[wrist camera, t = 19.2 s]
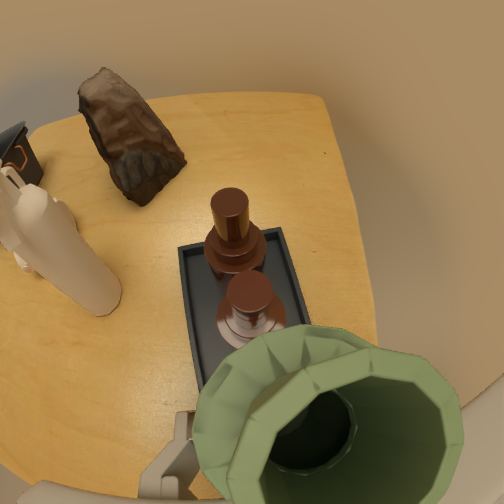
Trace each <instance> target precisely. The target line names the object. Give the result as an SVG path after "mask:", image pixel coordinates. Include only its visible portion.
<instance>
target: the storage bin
mask: <svg viewBox="0 0 504 504" xmlns="http://www.w3.org/2000/svg"><path fill="white" fill-rule="evenodd" d="M24 126H25V121H22V122H20V123H18V124H17V125H15V126H13V127H11V128H9V129H7V130H6V131H4V132H2V133H1V134H0V159H1V160H2V165H1V168H4V167H7V166H10V167H13V168H14V170H15V171H16V172H17V173H18V175H19V176H20V177H21V179H22V180H23V181H24V182H25V184H26V185H28V184H30V183H31V184H33V185H35V186H37V185H38V183H39V181H40V179H41V176H42V174H43V170H42V169H41V167H40V165H39V163H38V161H37V159H36V157H35V155H34V153H33V151H32V149H31V146H30V144H29V142H28V140H27V138H26V136H25V135H26V134H27V132H28V129H27V127H24ZM0 170H1V169H0ZM6 177H7V178H8V179H9V180H10V181H11V182H12V183H13V184H14V185H15V186H16V187H17V188H18V189H20V188H19V186H18V185H17V184H16V183H15V181H14V180H13V179H12V178H11V176H10V175H8V176H6Z"/></svg>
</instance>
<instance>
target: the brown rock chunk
mask: <svg viewBox="0 0 504 504" xmlns="http://www.w3.org/2000/svg"><path fill="white" fill-rule="evenodd" d="M78 95H79V110H78V111H79V112H80V113H82V114H83V115H84V117H85V118H86V122H87V124H88V126H89V128H90V129H89V132H90V135H91V137H92V140H93V141H94V143H95V145H96V147H97V150H98V152H99V154H100V155H101V157H102V158H103V160H104V161H105V162H106V163H107V164H108V166H109V168H110V175H111V178H112V180H113V182H114V183H115V185H116V186H117V188H118V189H120V190H121V191H122V192H123V195H124V196H126V197H127V199H128V200H132V201H134V202H136V203H137V204H138V205H139V206H140V207H142V206H145V205H146V204H148V203H149V202H150V201H151V200H152V199H153V197H154V196H155V194H156V193H157V192H159V191H161V190H162V189H163V187H164V185H166V184H167V183H168V182H169V180H170V179H172V178H174V177H175V176H176V175H177V174H178V173H179V172H180V170H181V169H182V168H183V167H184V166H185V165H186V164H187V162H186V160H185V159H184V153H183V152H182V151H181V149H180V148H179V147H178V145H177V144H176V142H175V140H174V139H173V137H172V135H171V133H170V132H169V130H168V129H167V128H166V127H165V126H164V124H163V123H162V122H161V120H160V119H159V118H158V117H157V116H156V114H155V113H154V112H153V111H152V109H151V108H150V107H149V105H148V104H147V103H146V102H145V101H144V99H143V98H142V97H141V96H140V95H139V93H138V92H137V91H136V90H135V89H134V88H133V87H131V86H130V85H129V84H127V83H126V82H125V81H124V80H123V79H122V78H121V77H120V76H118V75H117V74H116V73H114V72H113V71H111V70H110V69H106V68H105V67H102V68H101V69H100V71H99V73H97V74H95V75H94V76H93V77H91V78H89V79H88V80H87V81H84V82H83V83H82V84H81V86H80V87H79V90H78Z"/></svg>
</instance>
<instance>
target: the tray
mask: <svg viewBox="0 0 504 504" xmlns="http://www.w3.org/2000/svg"><path fill="white" fill-rule="evenodd" d="M261 232H262V233H263V235H264V237H265V239H266V259H265V273H264V275H265V276H267V278H268V279H269V280H270V282H271V284H272V287H273V292H274V293H275V294H276V295H277V296H278V297H279V298H280V300H281V301H282V303H283V305H284V307H285V310H286V318H287V319H286V326H285V328H288V327H292V326H296V325H300V324H309V325H311V322H310V318H309V315H308V311H307V308H306V305H305V301H304V298H303V295H302V292H301V288H300V285H299V282H298V279H297V275H296V272H295V269H294V266H293V263H292V260H291V256H290V253H289V250H288V247H287V244H286V241H285V238H284V235H283V232H282V229H281V227H277V228H271V229H266V230H261ZM204 243H205V242H200V243H195V244H190V245H185V246H181V247H178V256H179V266H180V275H181V283H182V291H183V299H184V306H185V313H186V320H187V327H188V333H189V339H190V345H191V351H192V357H193V362H194V368H195V373H196V378H197V383H198V388H199V393H200V391H201V390H202V389H203V387H204V386H205V384H206V383H207V382H208V380H209V379H210V377H211V376H212V375H213V373H214V372H215V370H216V369H217V368H218V366H219V365H220V363H221V362H222V360H223V359H225V357H226V356H228V355H230V354H231V353H232V352H231V350H230V349H229V347H228V346H227V344H226V343H225V341H224V340H223V338H222V336H221V335H220V333H219V331H218V328H217V323H216V314H217V309H218V306H219V304H220V302H221V299H220V296H219V294H218V291H217V288H216V285H215V282H214V280H213V277H212V274H211V271H210V268H209V265H208V263H207V260H206V257H205V253H204Z"/></svg>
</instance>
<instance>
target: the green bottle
mask: <svg viewBox="0 0 504 504" xmlns="http://www.w3.org/2000/svg"><path fill="white" fill-rule="evenodd" d="M192 438H193V442H194V446H195V450H196V454H197V458H198V462H199V465H200V469H201V471H202V473H203V474H204V475H205V477H206V478H207V479H208V480H209V481H210V483H211V484H212V485H213V486H214V487H215V488H216V489H217V491H218V492H219V493H220V494H221V495H222V496H223V497H224V498H225V499H226V500H228V499H231V500H232V503H233V504H437V503H438V502H439V501H440V499H441V498H442V497H443V496H444V495H445V493H446V491H447V490H448V488H449V486H450V483H451V481H452V478H453V475H454V473H455V470H456V467H457V464H458V461H459V458H460V455H461V452H462V448H463V445H464V438H465V437H464V429H463V422H462V416H461V410H460V405H459V399H458V395H457V393H456V390H455V389H454V388H453V387H452V386H451V385H450V384H449V383H448V382H447V381H446V379H445V378H444V377H443V376H442V375H441V374H440V373H439V372H438V371H437V370H436V369H435V368H434V367H433V366H432V365H431V364H430V363H429V362H428V361H427V360H426V359H425V358H423V357H421V356H418V355H412V354H407V353H402V352H397V351H392V350H387V349H382V348H377V347H376V346H374V345H373V344H371V343H369V342H367V341H365V340H363V339H362V338H360V337H358V336H356V335H354V334H353V333H351V332H349V331H347V330H345V329H344V330H343V329H342V328H333V327H325V326H317V325H309V324H300V325H296V326H292V327H288V328H284V329H280V330H275V331H271V332H267V333H263V334H262V335H258V336H257V337H255V338H254V339H252V340H251V341H249V342H248V343H246V344H245V345H243V346H242V347H240V348H239V349H237V350H236V351H234V352H233V353H231V354H230V355H228V356H226V357H225V359H223V360H222V362H221V363H220V365H219V366H218V368H217V369H216V370H215V372H214V373H213V375H212V376H211V377H210V379H209V380H208V382H207V383H206V384H205V386H204V387H203V389H202V390H201V391H200V394H199V397H198V402H197V407H196V412H195V416H194V421H193V426H192Z"/></svg>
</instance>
